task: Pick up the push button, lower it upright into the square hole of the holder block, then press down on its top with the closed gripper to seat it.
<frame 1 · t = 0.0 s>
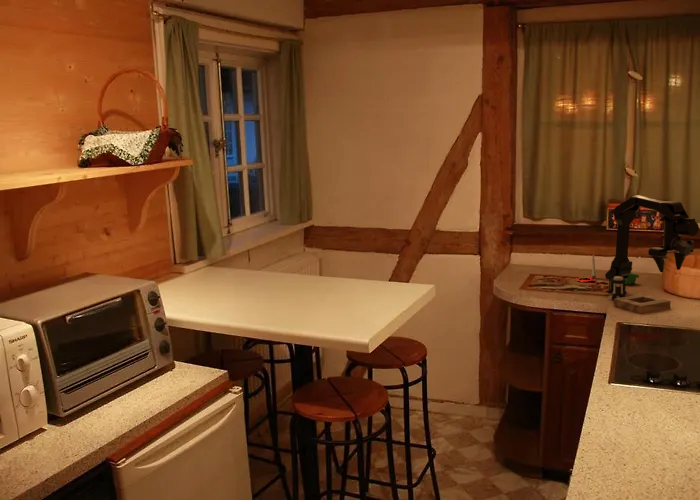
hand: (670, 271, 270), 15 cm above the countertop, tool pointing down, fingers open, 9 cm apart
red grey looped piece: (585, 281, 323), on the countertop
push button: (616, 300, 285), on the countertop
clamp: (626, 283, 316), on the countertop
holder block: (641, 306, 272), on the countertop
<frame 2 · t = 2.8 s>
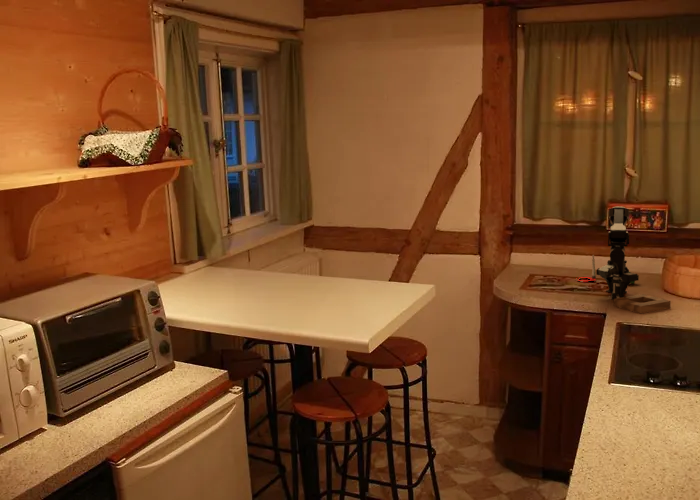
hand: (616, 294, 285), 3 cm above the countertop, tool pointing down, fingers closed on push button, 5 cm apart
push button: (616, 300, 285), on the countertop, touching gripper
everything else where it was.
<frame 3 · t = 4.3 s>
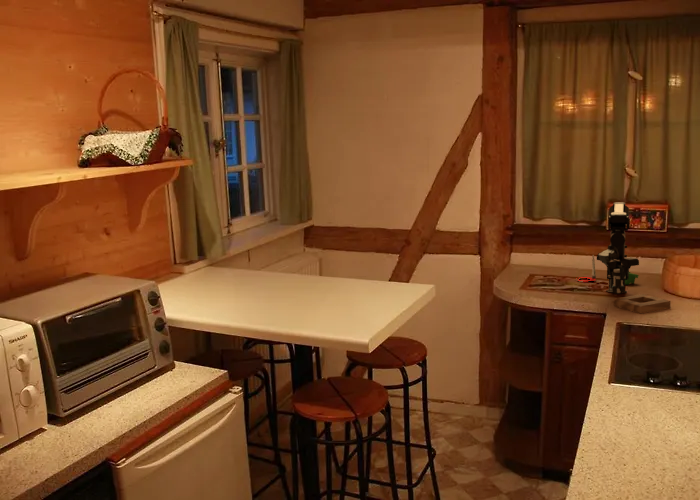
hand: (616, 279, 284), 9 cm above the countertop, tool pointing down, fingers closed on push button, 5 cm apart
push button: (616, 293, 285), point 3 cm above the countertop, touching gripper
everything else where it was.
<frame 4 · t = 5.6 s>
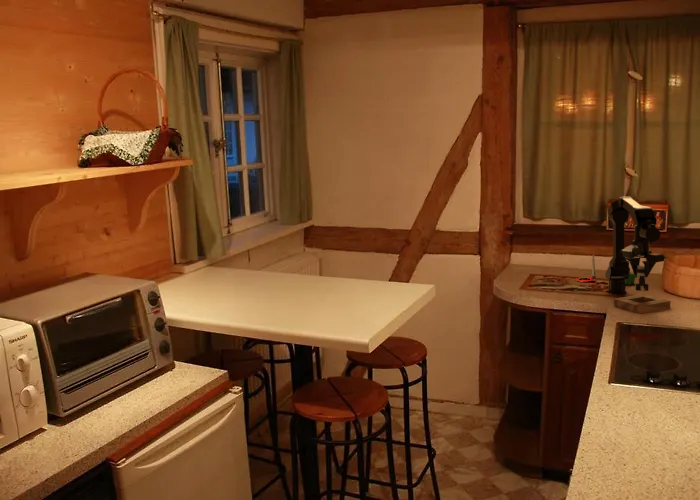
hand: (640, 276, 271), 13 cm above the countertop, tool pointing down, fingers closed on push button, 5 cm apart
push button: (640, 290, 272), point 7 cm above the countertop, touching gripper
everything else where it was.
when the fingers open (5 cm above the countertop, at t = 7.1 s): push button stays where it is, resting in holder block.
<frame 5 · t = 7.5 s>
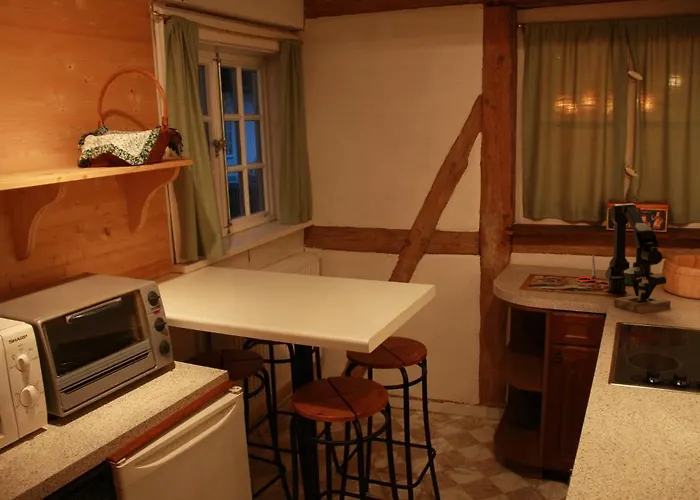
hand: (642, 297, 272), 4 cm above the countertop, tool pointing down, fingers open, 5 cm apart
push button: (641, 307, 273), resting in holder block
everything else where it was.
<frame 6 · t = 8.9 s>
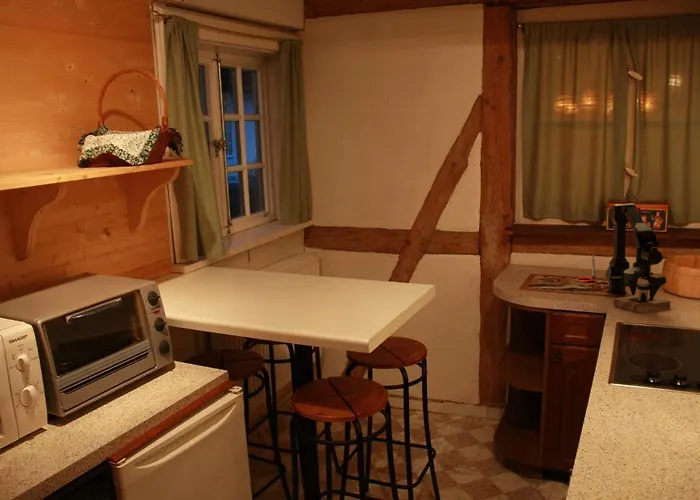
hand: (642, 297, 272), 4 cm above the countertop, tool pointing down, fingers open, 9 cm apart
nothing on the countertop moved.
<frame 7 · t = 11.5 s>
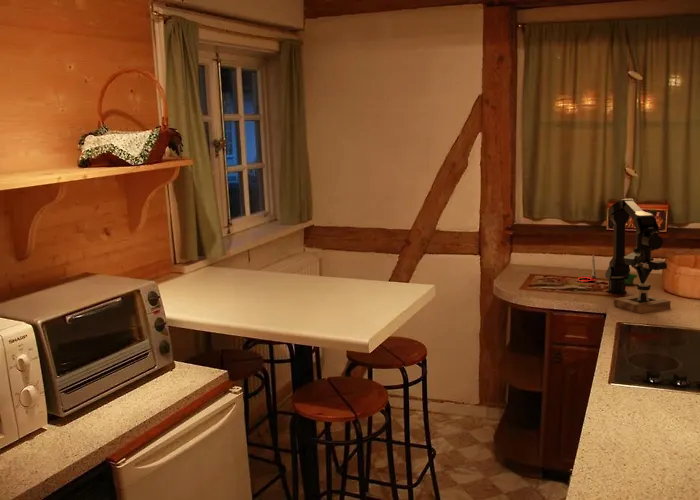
hand: (642, 283, 271), 10 cm above the countertop, tool pointing down, fingers closed, pressing on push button
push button: (641, 307, 273), resting in holder block, touching gripper
everything else where it was.
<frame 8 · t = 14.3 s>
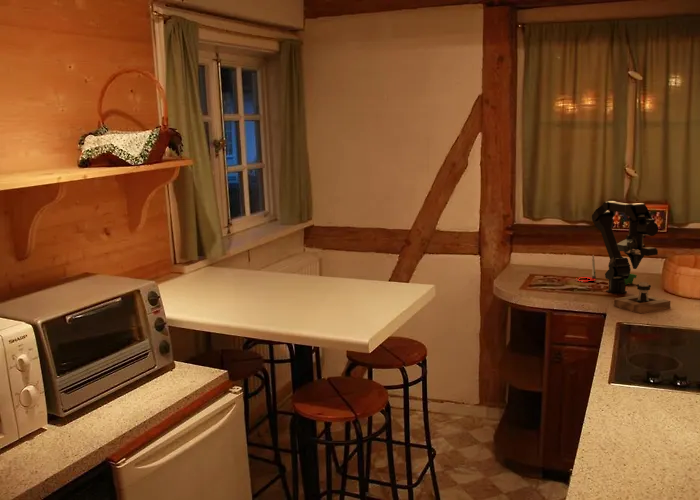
hand: (634, 268, 284), 13 cm above the countertop, tool pointing down, fingers closed
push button: (641, 307, 273), resting in holder block
at the end: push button 0.4 cm off-centre on the holder block, point 0.0 cm above the holder block's base; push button tilted 0° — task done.
